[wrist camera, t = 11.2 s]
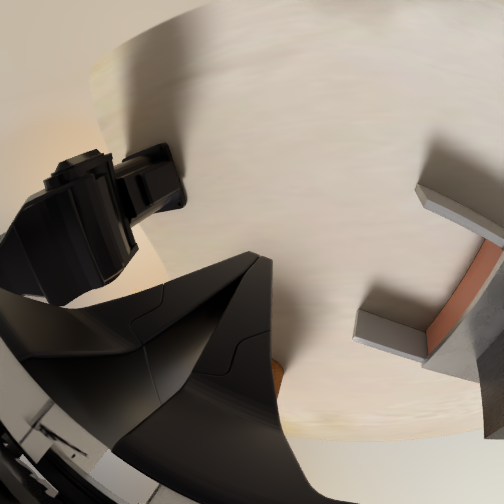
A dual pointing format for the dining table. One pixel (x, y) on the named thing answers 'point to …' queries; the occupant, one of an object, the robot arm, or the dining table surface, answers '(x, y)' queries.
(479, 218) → the grey box tray
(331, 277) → the dining table surface
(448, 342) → the lid
